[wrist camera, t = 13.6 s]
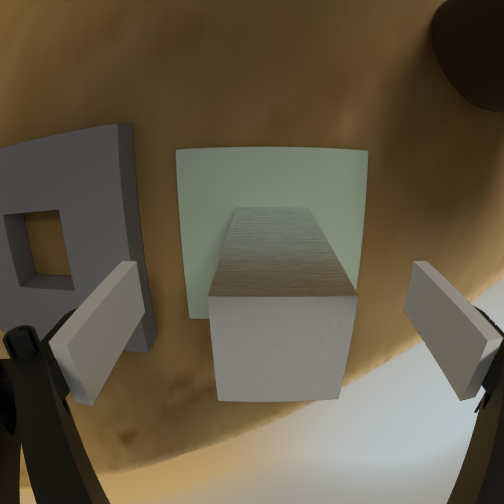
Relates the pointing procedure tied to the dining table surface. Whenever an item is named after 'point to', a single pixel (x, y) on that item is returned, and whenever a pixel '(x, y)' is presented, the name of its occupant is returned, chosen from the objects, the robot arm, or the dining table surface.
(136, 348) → the pocket block
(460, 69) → the olive oil
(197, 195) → the green mat
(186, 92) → the dining table surface
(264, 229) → the metal peg
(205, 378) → the dining table surface
